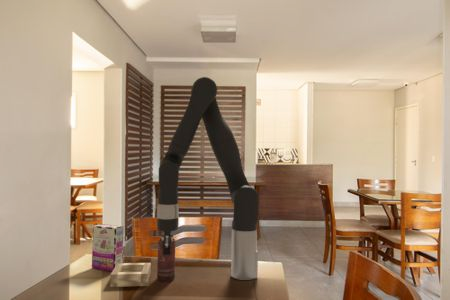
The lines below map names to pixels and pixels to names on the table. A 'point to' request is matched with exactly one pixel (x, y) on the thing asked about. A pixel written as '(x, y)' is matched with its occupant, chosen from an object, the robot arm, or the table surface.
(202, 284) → the table surface
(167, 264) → the can
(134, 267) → the frame
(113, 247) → the candy bar box
